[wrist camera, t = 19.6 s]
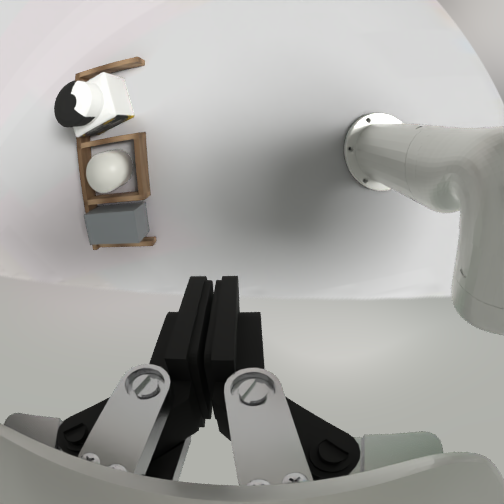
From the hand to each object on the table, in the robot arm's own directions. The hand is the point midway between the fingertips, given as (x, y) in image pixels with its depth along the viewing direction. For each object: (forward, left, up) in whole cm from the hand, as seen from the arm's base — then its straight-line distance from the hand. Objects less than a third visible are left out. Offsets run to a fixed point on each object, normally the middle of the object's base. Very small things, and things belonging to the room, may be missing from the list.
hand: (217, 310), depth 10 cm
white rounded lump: (+19, -2, -33) cm, 39 cm away
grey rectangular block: (+20, +6, -33) cm, 39 cm away
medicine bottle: (+20, -12, -33) cm, 41 cm away
